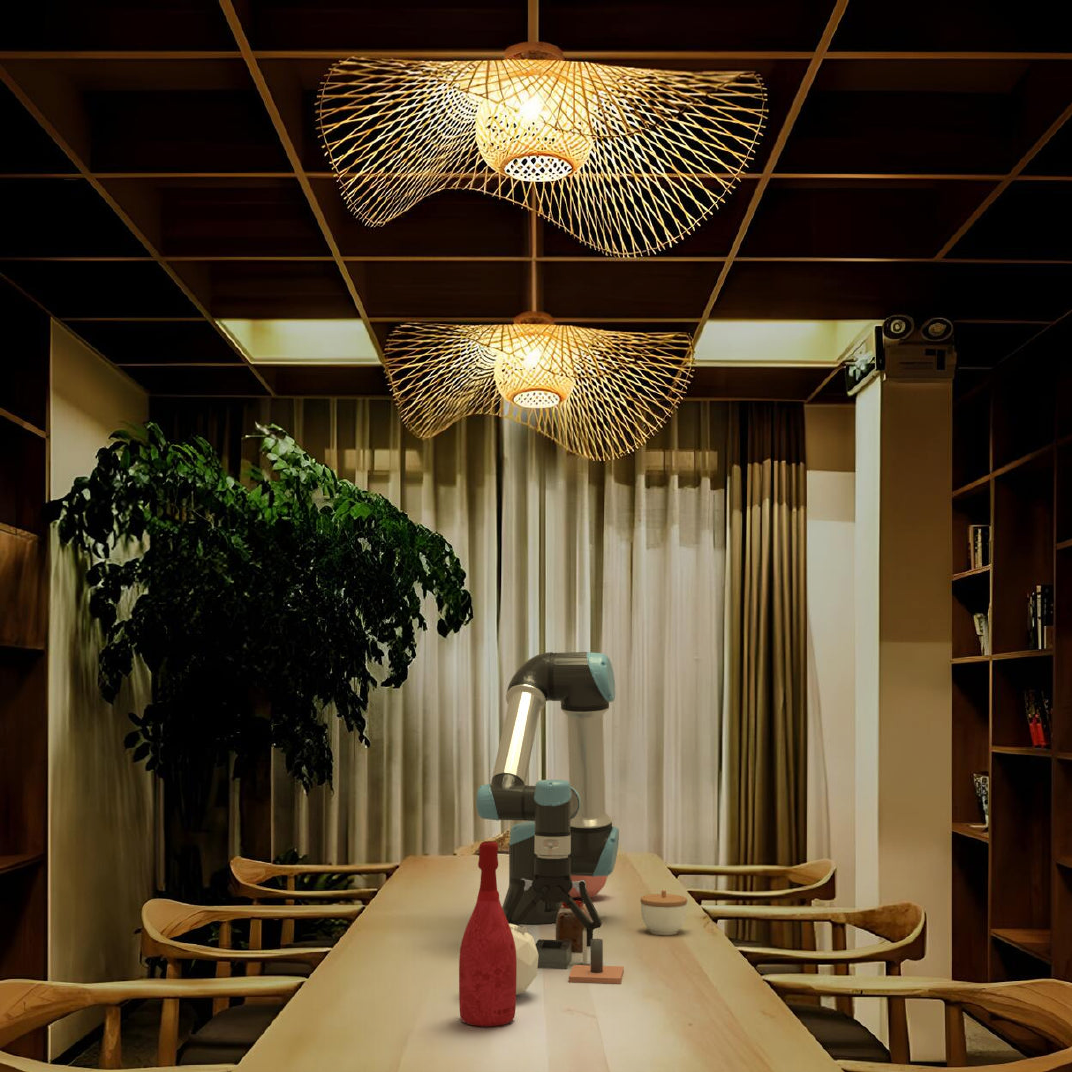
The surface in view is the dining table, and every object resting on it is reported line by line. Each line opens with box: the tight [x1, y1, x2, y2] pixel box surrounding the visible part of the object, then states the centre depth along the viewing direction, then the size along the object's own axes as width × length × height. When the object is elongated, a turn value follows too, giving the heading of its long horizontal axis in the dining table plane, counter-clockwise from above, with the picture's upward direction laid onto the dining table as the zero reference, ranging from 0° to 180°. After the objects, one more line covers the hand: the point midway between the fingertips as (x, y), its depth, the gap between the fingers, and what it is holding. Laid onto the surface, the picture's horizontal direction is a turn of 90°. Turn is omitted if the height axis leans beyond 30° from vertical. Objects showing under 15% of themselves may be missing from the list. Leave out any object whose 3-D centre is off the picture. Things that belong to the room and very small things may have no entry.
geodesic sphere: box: [509, 924, 538, 996], centre depth 231 cm, size 14×14×14 cm
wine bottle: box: [458, 840, 517, 1028], centre depth 215 cm, size 10×10×30 cm
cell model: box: [569, 875, 609, 900], centre depth 331 cm, size 17×20×11 cm
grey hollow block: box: [535, 938, 573, 969], centre depth 257 cm, size 10×7×4 cm
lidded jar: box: [640, 889, 688, 936], centre depth 288 cm, size 11×11×9 cm
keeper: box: [568, 938, 625, 985], centre depth 245 cm, size 10×10×7 cm
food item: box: [554, 899, 593, 953], centre depth 274 cm, size 14×8×10 cm, turn 175°
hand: (552, 961), depth 257 cm, fingers open, 13 cm apart
